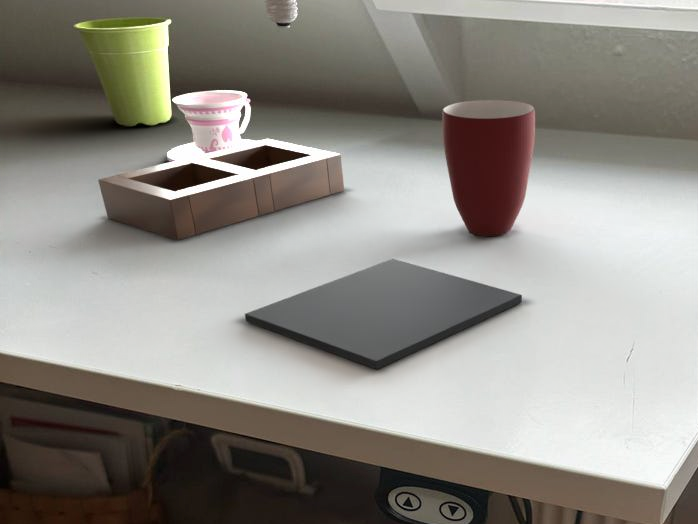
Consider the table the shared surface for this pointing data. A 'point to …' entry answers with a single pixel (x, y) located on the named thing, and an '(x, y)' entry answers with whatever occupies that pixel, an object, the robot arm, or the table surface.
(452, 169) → the mug
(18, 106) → the table surface
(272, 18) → the light bulb
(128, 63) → the plant pot
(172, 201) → the wooden divided tray
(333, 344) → the mat
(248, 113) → the teacup
